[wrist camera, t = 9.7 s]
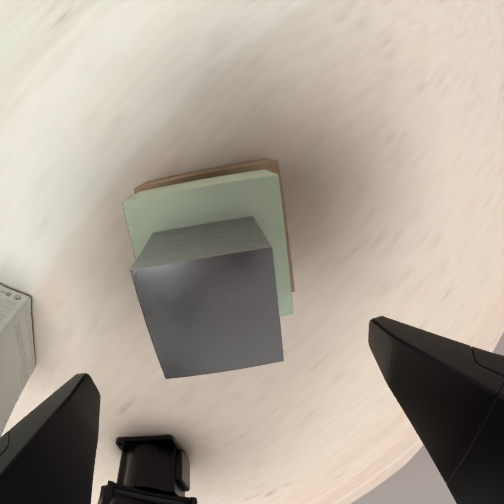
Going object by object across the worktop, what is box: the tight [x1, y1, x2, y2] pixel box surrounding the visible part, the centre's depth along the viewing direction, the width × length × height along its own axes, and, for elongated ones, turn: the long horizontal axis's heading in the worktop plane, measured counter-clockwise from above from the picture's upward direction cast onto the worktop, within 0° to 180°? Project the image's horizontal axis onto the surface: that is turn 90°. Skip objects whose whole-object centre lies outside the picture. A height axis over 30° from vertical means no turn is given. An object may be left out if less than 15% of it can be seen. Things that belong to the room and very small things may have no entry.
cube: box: [130, 216, 284, 379], centre depth 12 cm, size 4×4×4 cm
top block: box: [122, 169, 293, 316], centre depth 16 cm, size 7×7×4 cm
